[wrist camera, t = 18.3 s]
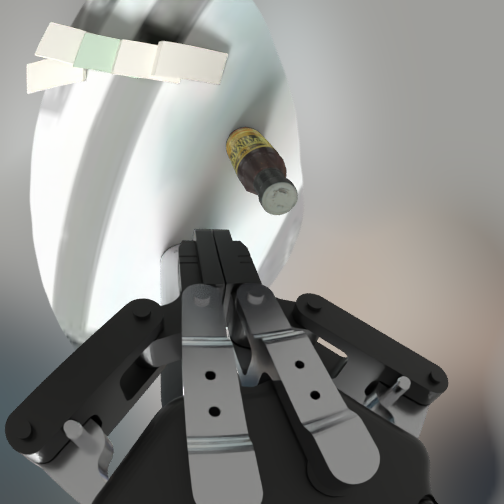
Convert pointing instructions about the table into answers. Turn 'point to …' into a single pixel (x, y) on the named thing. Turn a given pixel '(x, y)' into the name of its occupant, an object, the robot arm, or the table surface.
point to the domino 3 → (97, 53)
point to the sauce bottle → (261, 170)
